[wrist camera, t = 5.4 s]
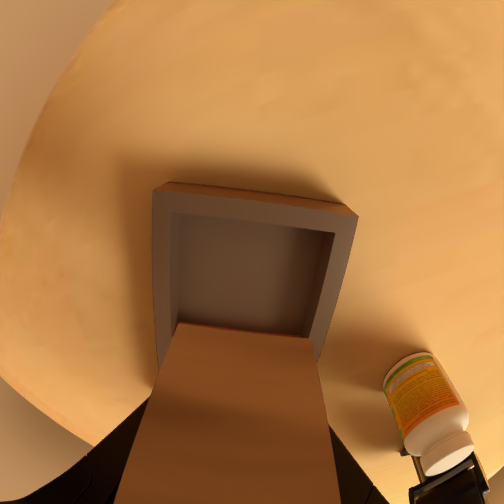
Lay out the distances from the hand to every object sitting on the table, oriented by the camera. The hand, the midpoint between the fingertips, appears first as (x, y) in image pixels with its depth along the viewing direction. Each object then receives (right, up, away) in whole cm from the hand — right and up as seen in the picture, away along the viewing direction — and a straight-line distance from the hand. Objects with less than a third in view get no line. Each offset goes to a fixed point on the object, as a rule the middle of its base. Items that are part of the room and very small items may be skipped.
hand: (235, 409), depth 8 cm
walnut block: (0, +1, +1) cm, 1 cm away
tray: (0, 0, +11) cm, 11 cm away
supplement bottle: (+14, -6, +13) cm, 20 cm away
